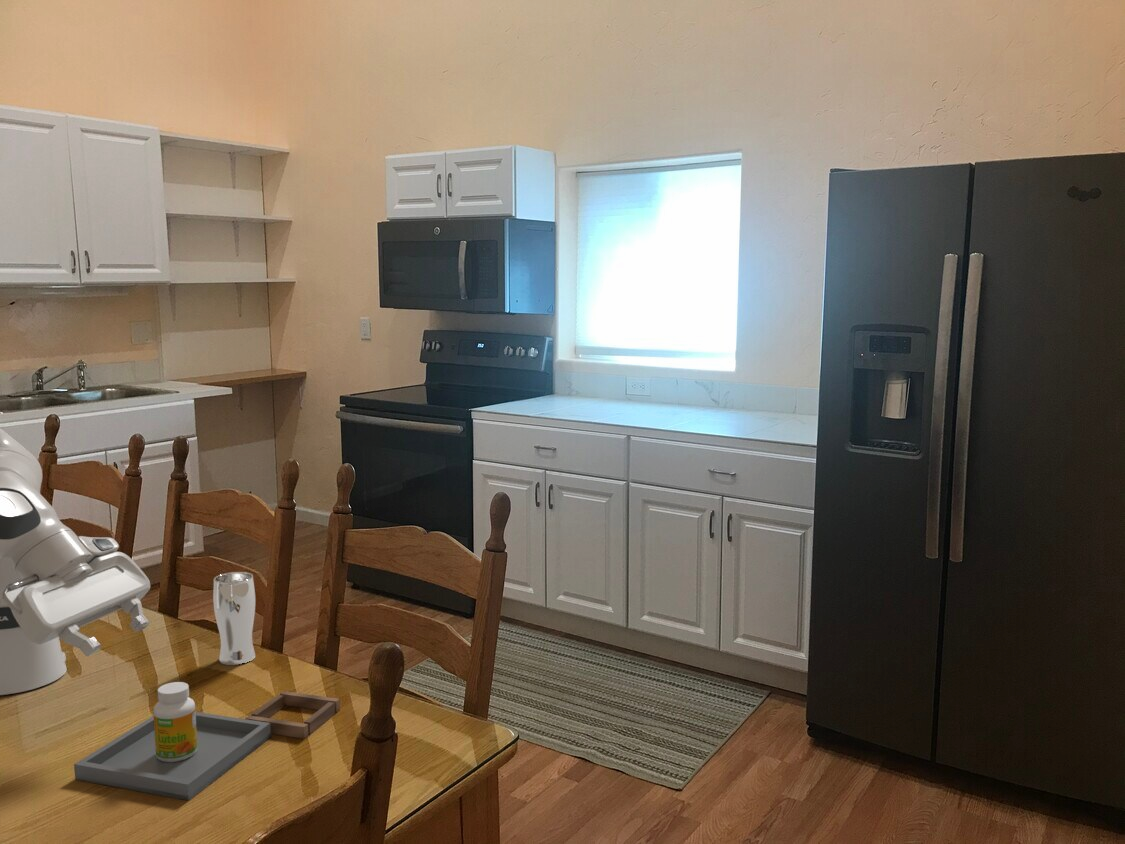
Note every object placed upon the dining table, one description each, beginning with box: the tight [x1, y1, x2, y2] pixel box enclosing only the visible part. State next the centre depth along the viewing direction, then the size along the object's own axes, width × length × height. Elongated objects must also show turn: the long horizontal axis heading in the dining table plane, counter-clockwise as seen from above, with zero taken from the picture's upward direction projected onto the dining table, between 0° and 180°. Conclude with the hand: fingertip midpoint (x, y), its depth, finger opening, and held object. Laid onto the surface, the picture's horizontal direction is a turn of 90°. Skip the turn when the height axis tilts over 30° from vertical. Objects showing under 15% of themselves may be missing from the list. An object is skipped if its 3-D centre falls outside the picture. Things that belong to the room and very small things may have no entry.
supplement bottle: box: [152, 681, 197, 762], centre depth 130 cm, size 5×5×10 cm
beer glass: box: [212, 571, 256, 666], centre depth 165 cm, size 7×7×15 cm
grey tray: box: [73, 711, 272, 801], centre depth 131 cm, size 18×18×2 cm
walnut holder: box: [244, 690, 341, 740], centre depth 143 cm, size 10×10×2 cm
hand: (119, 639), depth 132 cm, fingers open, 8 cm apart
